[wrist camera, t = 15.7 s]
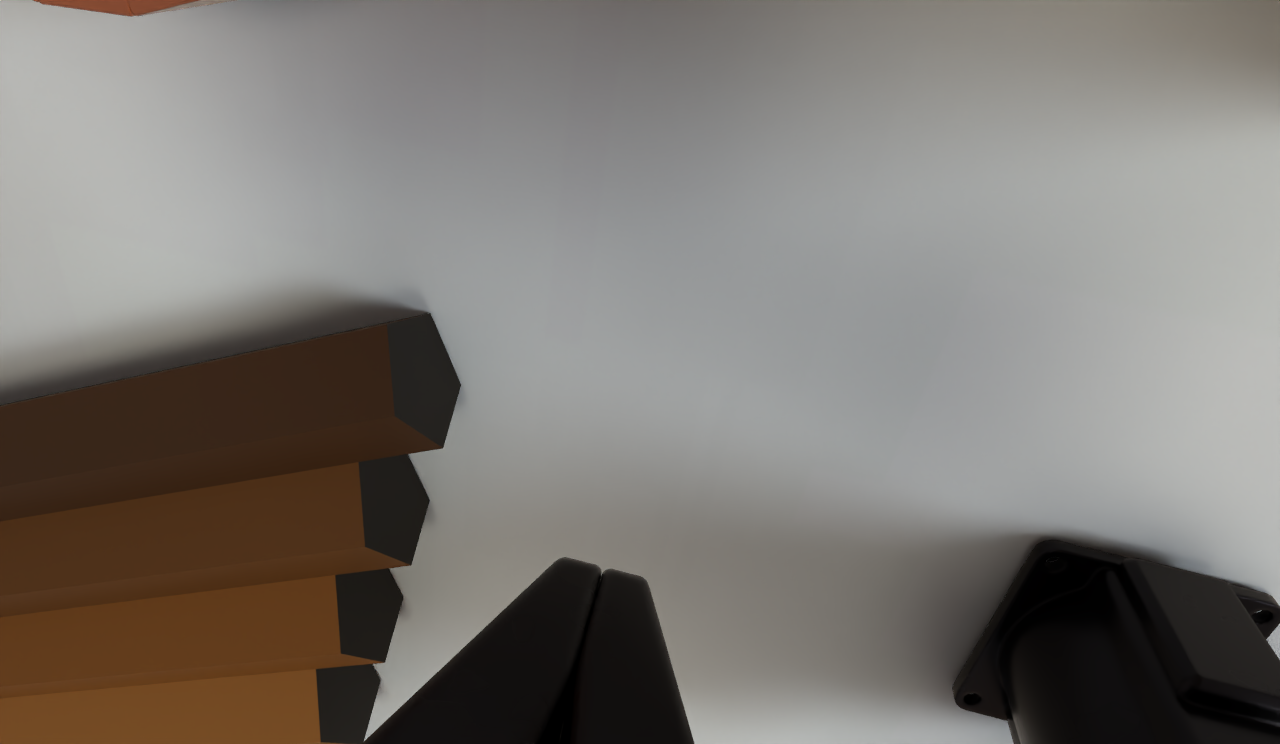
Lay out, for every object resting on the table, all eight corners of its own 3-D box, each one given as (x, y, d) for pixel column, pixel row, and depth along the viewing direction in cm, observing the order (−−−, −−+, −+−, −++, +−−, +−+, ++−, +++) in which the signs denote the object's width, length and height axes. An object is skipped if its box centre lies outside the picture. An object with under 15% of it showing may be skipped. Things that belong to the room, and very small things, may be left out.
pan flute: (420, 289, 21) (-236, 435, 28) (362, 349, 19) (-356, 497, 25) (668, 871, 32) (152, 880, 39) (656, 967, 29) (100, 959, 36)
